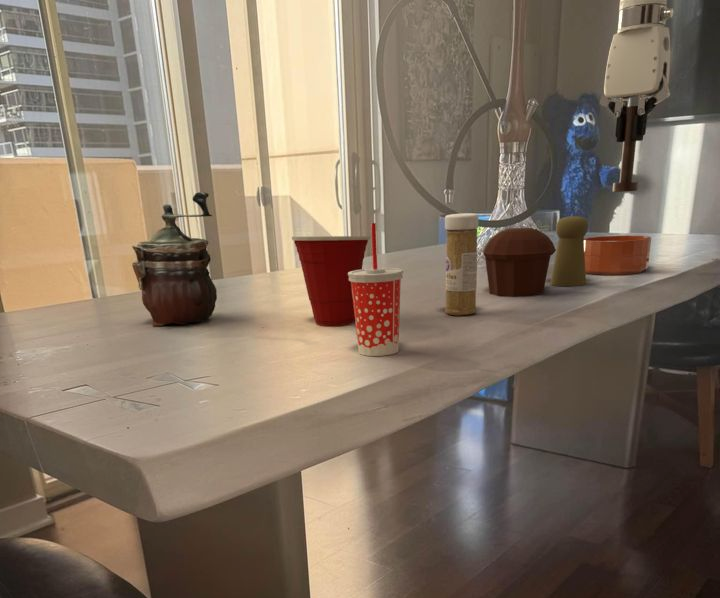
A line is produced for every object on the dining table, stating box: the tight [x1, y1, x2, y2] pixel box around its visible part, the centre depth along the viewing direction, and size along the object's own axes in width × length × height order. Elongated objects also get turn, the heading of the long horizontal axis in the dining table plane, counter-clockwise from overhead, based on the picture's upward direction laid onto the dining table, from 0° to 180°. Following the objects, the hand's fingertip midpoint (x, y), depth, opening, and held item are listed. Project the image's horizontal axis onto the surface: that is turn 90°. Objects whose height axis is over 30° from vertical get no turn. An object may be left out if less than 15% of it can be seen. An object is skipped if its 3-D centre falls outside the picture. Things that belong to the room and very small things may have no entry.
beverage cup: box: [348, 222, 404, 357], centre depth 77 cm, size 6×6×14 cm
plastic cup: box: [291, 235, 371, 327], centre depth 96 cm, size 11×11×12 cm
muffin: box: [482, 227, 557, 297], centre depth 113 cm, size 12×11×10 cm
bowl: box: [584, 235, 652, 276], centre depth 132 cm, size 12×12×6 cm
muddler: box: [611, 105, 639, 193], centre depth 126 cm, size 4×4×14 cm
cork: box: [549, 215, 589, 287], centre depth 119 cm, size 6×6×11 cm
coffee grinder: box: [131, 191, 218, 327], centre depth 101 cm, size 13×15×18 cm
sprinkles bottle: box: [444, 212, 479, 317], centre depth 97 cm, size 5×5×13 cm
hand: (629, 140), depth 126 cm, fingers closed on muddler, 2 cm apart
